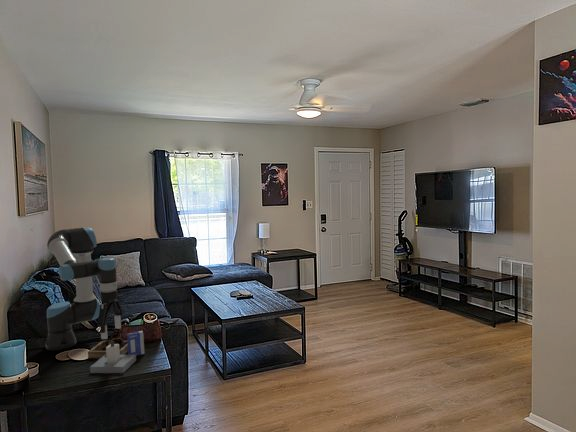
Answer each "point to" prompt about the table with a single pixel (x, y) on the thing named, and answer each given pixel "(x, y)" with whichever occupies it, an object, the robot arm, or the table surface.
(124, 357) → the socket plate
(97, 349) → the mug frame
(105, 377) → the table surface
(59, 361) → the table surface
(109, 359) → the plug
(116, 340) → the pottery mug
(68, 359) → the table surface
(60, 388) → the table surface
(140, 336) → the walkman
